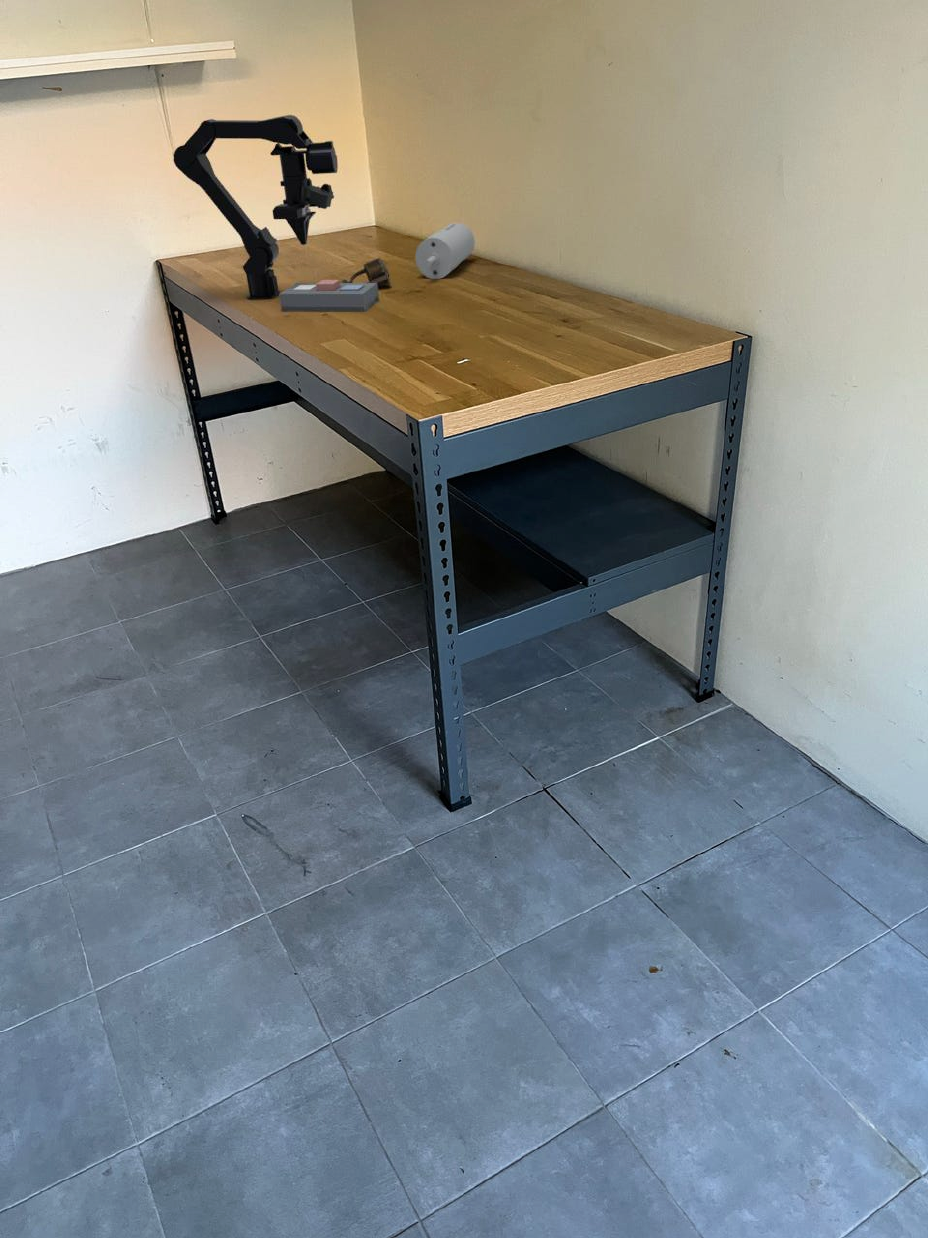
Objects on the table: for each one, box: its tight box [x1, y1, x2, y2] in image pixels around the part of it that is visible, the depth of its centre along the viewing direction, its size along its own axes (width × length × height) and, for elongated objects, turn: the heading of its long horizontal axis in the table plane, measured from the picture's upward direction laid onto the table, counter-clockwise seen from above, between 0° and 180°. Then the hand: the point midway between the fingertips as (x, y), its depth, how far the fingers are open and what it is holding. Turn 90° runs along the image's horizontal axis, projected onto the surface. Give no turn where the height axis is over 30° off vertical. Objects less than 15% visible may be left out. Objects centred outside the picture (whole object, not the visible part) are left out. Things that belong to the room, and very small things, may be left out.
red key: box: [316, 279, 341, 291], centre depth 224 cm, size 4×4×3 cm
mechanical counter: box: [341, 257, 392, 288], centre depth 238 cm, size 7×13×10 cm
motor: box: [415, 222, 476, 280], centre depth 251 cm, size 30×10×10 cm, turn 165°
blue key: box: [340, 285, 364, 291], centre depth 223 cm, size 4×4×3 cm
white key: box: [293, 285, 316, 291], centre depth 226 cm, size 4×4×3 cm
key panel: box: [278, 282, 380, 313], centre depth 225 cm, size 21×11×4 cm, turn 77°
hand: (304, 244), depth 231 cm, fingers closed
